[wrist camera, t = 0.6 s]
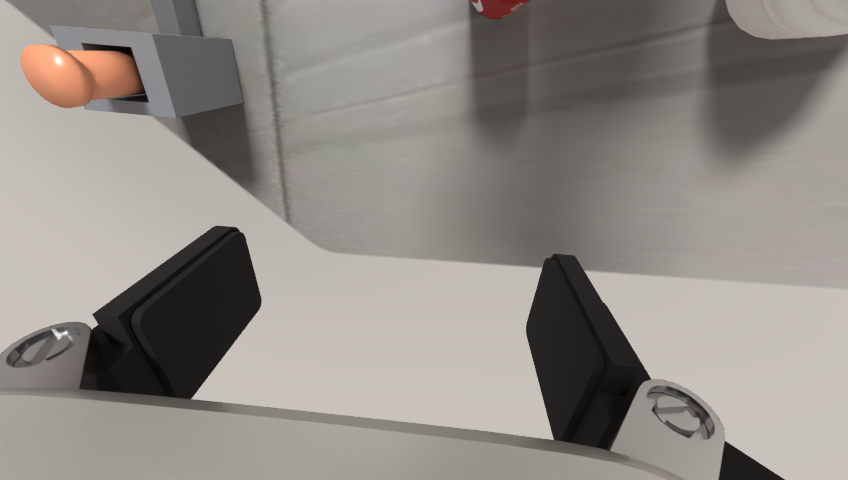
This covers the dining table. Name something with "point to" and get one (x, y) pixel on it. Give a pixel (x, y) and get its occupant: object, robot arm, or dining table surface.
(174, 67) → the end cabinet
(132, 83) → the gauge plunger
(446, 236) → the dining table surface
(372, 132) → the dining table surface
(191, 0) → the grey slide rail
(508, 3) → the soda can
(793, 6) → the honey pot
